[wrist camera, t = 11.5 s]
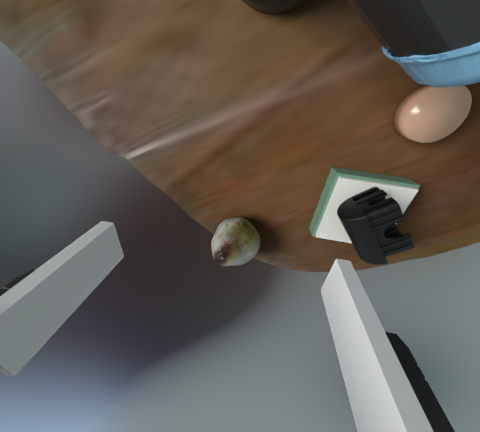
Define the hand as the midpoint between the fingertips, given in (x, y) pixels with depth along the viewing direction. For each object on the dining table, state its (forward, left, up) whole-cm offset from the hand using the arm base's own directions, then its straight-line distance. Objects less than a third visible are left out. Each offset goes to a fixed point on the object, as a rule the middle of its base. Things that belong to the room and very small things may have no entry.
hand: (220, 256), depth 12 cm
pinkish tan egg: (-9, +24, -27) cm, 37 cm away
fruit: (+17, 0, -27) cm, 32 cm away
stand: (+7, +21, -27) cm, 34 cm away
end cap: (+7, +21, -23) cm, 31 cm away
